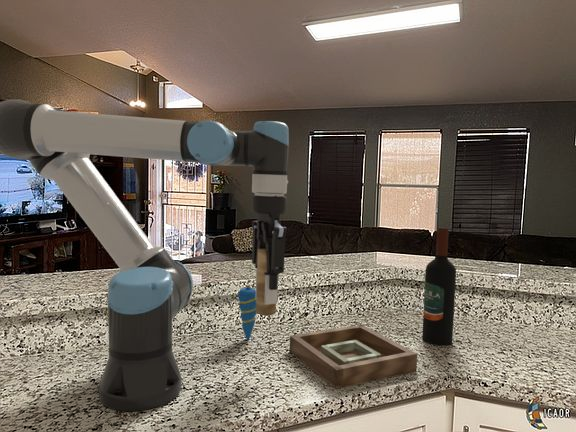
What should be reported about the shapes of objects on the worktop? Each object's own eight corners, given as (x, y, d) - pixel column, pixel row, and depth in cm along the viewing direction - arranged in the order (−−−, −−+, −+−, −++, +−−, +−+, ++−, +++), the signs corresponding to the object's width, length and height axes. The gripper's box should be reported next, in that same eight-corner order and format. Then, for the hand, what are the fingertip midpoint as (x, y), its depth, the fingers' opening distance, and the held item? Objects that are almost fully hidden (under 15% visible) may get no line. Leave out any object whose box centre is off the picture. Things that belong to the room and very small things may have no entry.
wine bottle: (456, 346, 115) (463, 230, 112) (426, 345, 115) (432, 229, 112) (446, 335, 122) (452, 226, 119) (418, 334, 122) (424, 225, 120)
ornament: (248, 344, 112) (248, 286, 111) (233, 339, 115) (234, 282, 114) (261, 339, 116) (262, 282, 115) (246, 334, 119) (247, 279, 118)
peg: (260, 316, 96) (262, 251, 95) (252, 310, 100) (254, 248, 98) (279, 314, 98) (281, 250, 96) (270, 308, 102) (272, 247, 100)
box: (336, 389, 90) (336, 370, 89) (289, 351, 108) (289, 335, 108) (416, 371, 99) (417, 353, 99) (360, 339, 118) (361, 324, 117)
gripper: (303, 197, 90) (299, 310, 92) (269, 193, 106) (265, 289, 108) (270, 196, 87) (266, 313, 89) (239, 192, 102) (236, 292, 105)
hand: (266, 300), depth 98 cm, fingers closed on peg, 4 cm apart
